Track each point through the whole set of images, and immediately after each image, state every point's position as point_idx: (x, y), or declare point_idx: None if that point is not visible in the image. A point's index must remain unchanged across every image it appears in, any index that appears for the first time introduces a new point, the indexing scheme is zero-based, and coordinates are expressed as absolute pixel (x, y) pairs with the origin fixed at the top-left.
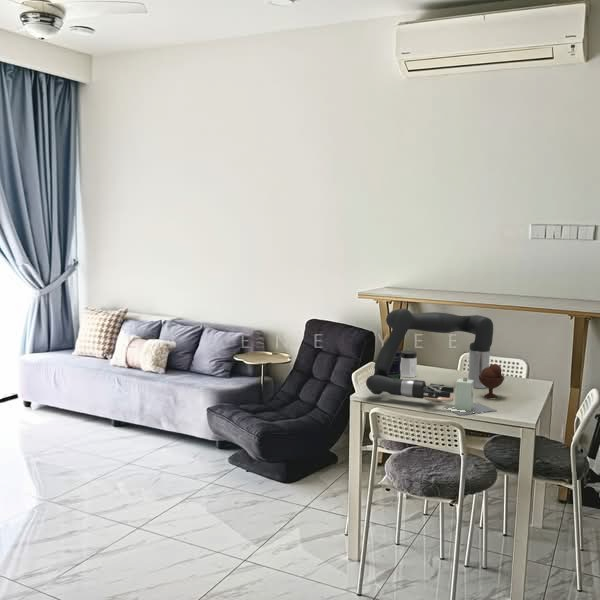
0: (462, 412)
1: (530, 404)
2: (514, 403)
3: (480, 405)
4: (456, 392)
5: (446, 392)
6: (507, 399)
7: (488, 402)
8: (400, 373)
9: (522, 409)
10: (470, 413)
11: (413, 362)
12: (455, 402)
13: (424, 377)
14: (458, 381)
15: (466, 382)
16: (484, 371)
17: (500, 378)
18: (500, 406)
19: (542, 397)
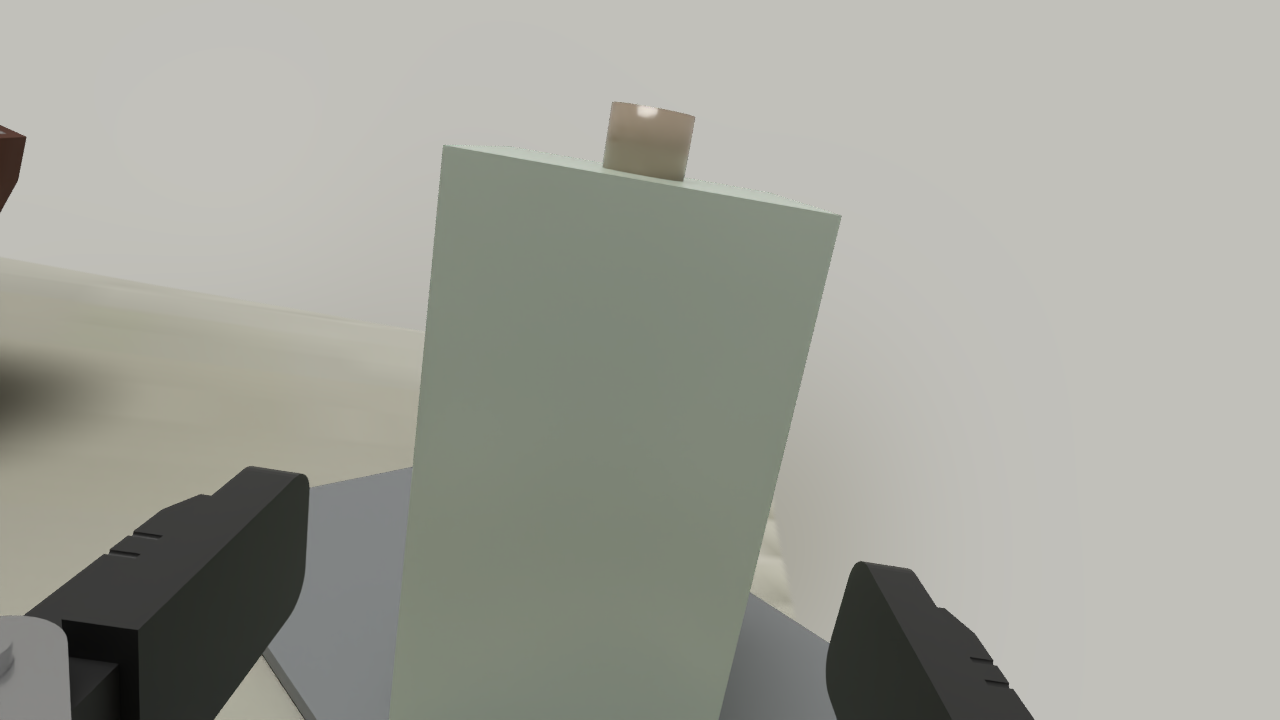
0: (813, 696)
1: (246, 319)
2: (204, 354)
3: (336, 511)
4: (772, 467)
5: (937, 615)
6: (26, 355)
7: (122, 454)
8: None
9: (405, 359)
10: (787, 617)
11: None
12: (726, 676)
13: None
14: (773, 202)
15: (758, 193)
16: None
17: (2, 126)
18: (320, 417)
19: (37, 264)
